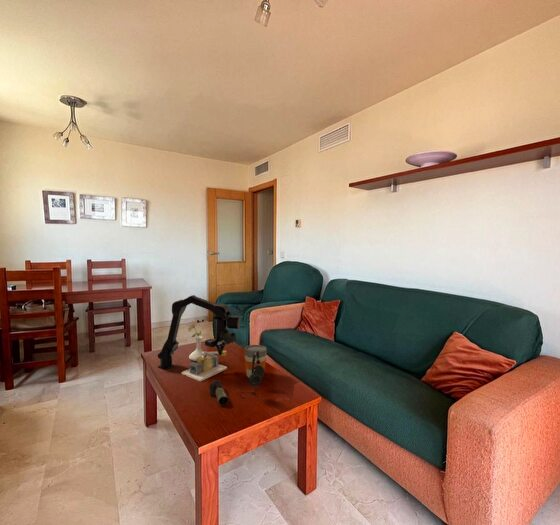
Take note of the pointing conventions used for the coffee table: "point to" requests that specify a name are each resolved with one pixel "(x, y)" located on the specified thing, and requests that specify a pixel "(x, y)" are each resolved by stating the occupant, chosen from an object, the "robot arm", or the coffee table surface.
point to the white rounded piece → (198, 338)
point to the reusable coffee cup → (249, 356)
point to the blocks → (203, 364)
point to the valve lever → (212, 353)
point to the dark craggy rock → (218, 392)
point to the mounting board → (205, 373)
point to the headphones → (255, 372)
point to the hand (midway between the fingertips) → (220, 355)
